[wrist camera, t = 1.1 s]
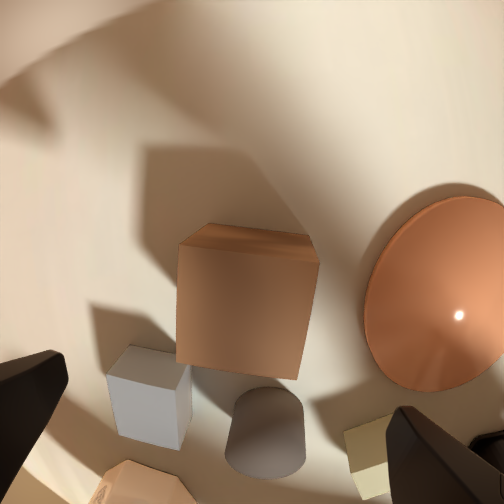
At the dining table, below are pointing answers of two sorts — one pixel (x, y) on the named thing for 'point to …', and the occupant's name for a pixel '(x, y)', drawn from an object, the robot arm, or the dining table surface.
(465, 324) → the coaster
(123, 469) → the jar
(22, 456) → the robot arm
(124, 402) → the plastic brick
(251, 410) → the grey cylinder
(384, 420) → the sage cube
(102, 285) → the dining table surface
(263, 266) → the walnut block
